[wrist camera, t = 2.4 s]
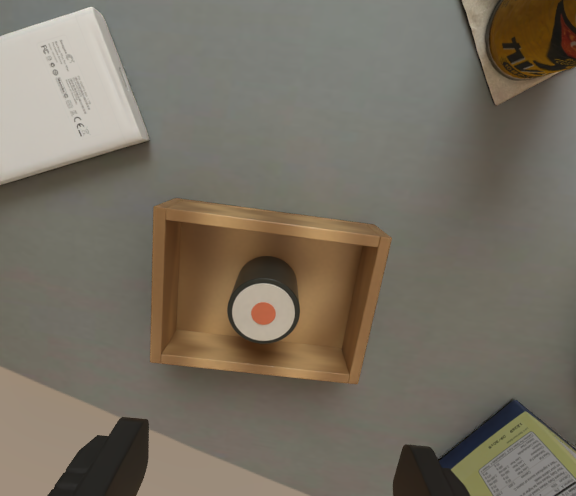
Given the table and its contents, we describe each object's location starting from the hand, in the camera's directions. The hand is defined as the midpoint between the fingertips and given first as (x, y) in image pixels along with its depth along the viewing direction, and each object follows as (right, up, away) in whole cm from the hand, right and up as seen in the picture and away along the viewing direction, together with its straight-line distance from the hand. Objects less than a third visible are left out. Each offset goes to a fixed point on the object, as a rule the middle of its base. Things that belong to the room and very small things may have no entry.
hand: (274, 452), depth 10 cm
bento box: (-1, +4, +16) cm, 17 cm away
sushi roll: (-1, +3, +16) cm, 16 cm away
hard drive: (-17, +16, +13) cm, 27 cm away
